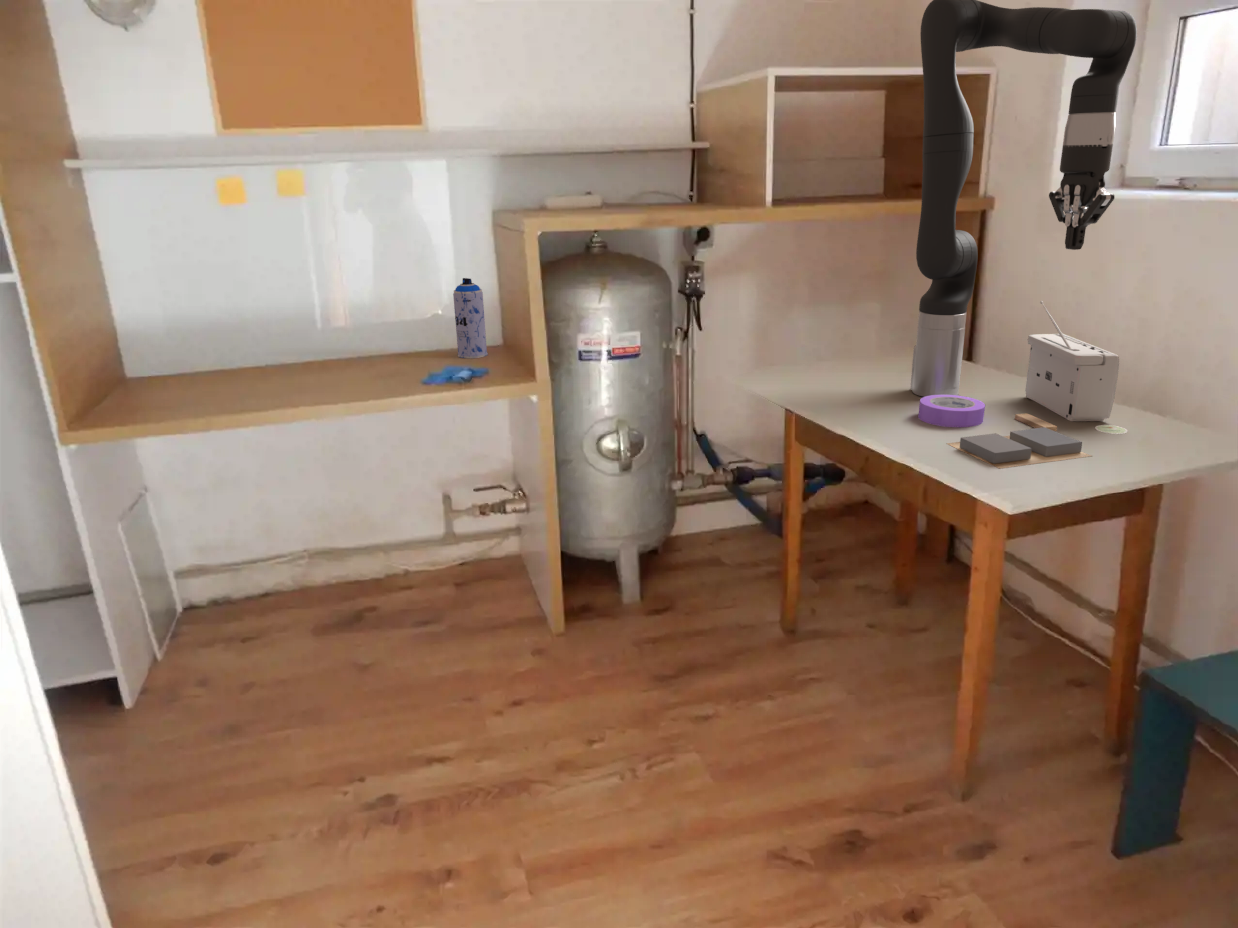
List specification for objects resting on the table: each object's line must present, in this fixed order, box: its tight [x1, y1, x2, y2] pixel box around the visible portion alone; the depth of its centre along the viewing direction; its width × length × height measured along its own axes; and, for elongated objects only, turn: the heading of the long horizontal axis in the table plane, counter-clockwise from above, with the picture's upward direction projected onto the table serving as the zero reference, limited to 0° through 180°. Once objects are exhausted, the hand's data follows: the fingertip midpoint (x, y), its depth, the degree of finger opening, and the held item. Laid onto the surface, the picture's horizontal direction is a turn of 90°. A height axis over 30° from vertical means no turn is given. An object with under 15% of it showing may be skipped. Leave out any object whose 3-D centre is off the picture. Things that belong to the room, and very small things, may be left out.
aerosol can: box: [452, 277, 489, 359], centre depth 236 cm, size 8×8×20 cm
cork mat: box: [946, 435, 1092, 470], centre depth 155 cm, size 14×18×1 cm
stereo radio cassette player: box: [1024, 300, 1120, 422], centre depth 175 cm, size 21×8×20 cm, turn 2°
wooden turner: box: [1014, 413, 1058, 432], centre depth 165 cm, size 14×4×2 cm, turn 11°
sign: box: [1094, 424, 1128, 435], centre depth 160 cm, size 5×1×15 cm
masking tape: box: [917, 394, 986, 428], centre depth 173 cm, size 12×12×4 cm
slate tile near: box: [959, 432, 1032, 464], centre depth 152 cm, size 2×7×9 cm
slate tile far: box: [1009, 427, 1083, 457], centre depth 155 cm, size 2×7×9 cm
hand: (1073, 249), depth 157 cm, fingers closed
